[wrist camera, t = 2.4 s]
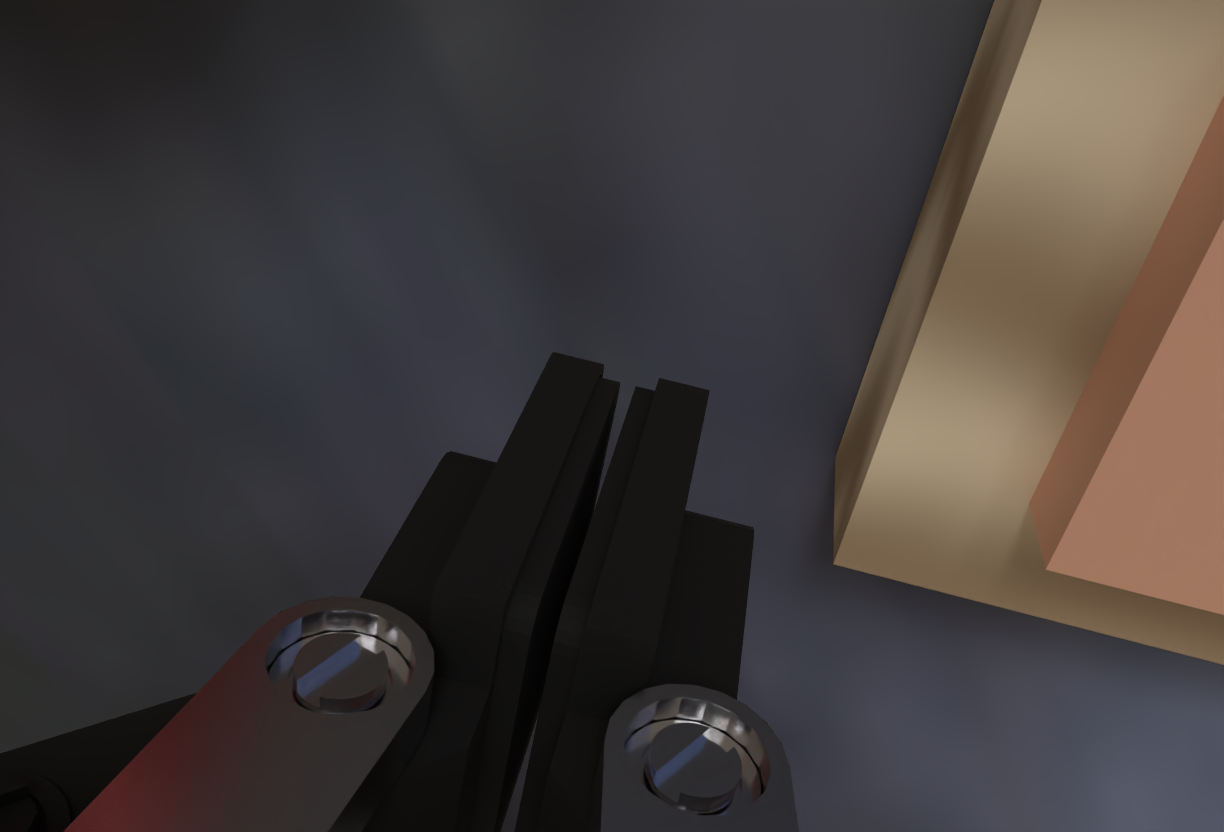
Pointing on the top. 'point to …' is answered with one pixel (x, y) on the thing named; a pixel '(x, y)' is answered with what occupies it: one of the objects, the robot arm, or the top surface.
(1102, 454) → the salmon brown flat block
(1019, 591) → the deck
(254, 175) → the top surface
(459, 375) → the top surface
